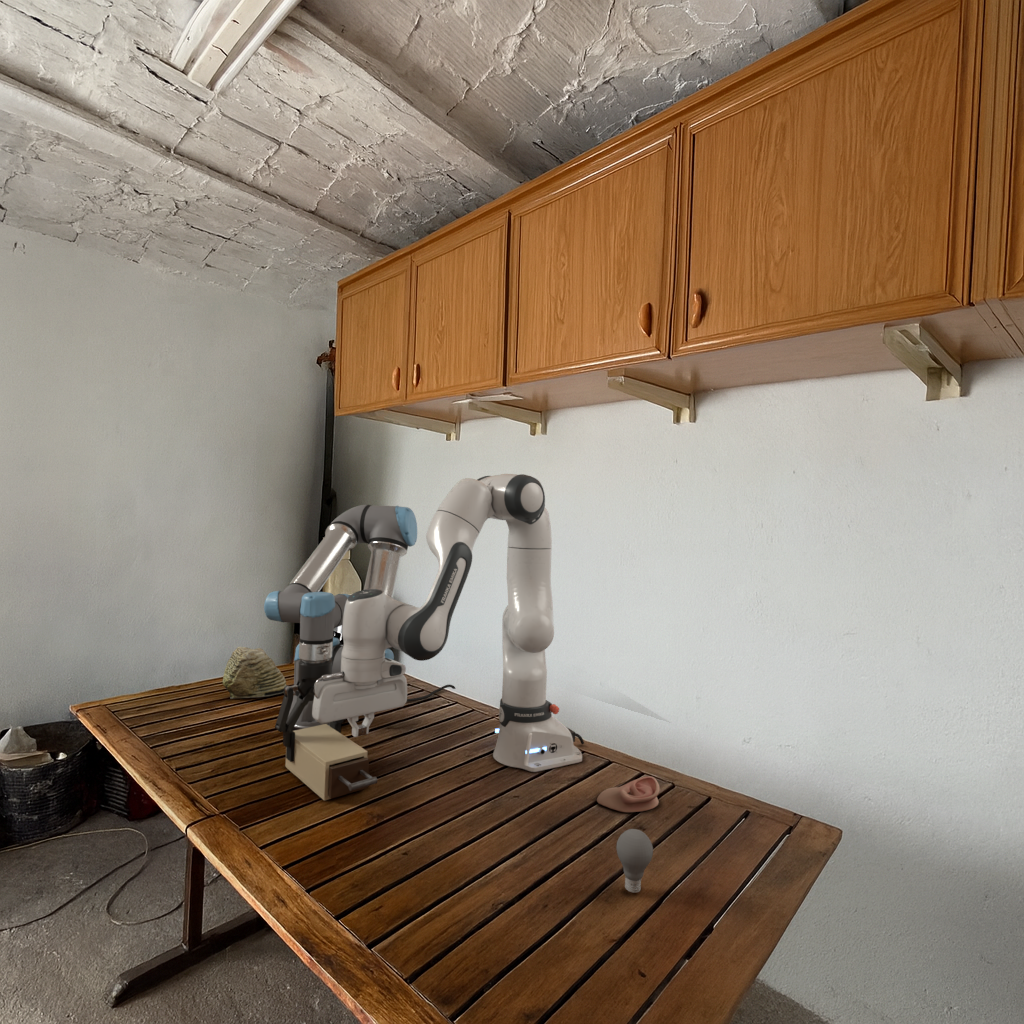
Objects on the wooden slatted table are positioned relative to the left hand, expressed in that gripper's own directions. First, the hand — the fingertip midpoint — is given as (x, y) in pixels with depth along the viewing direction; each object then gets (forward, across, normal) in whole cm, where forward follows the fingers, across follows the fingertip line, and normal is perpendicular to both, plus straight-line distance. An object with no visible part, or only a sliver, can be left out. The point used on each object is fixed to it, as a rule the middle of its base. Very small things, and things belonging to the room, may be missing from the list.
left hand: (311, 754), depth 148 cm
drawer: (+2, 0, -12) cm, 12 cm away
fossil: (+3, +8, +60) cm, 60 cm away
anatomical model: (+3, +47, -56) cm, 73 cm away
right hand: (-11, 0, -22) cm, 25 cm away
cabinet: (+3, 0, -7) cm, 8 cm away
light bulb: (+3, +22, -76) cm, 80 cm away
